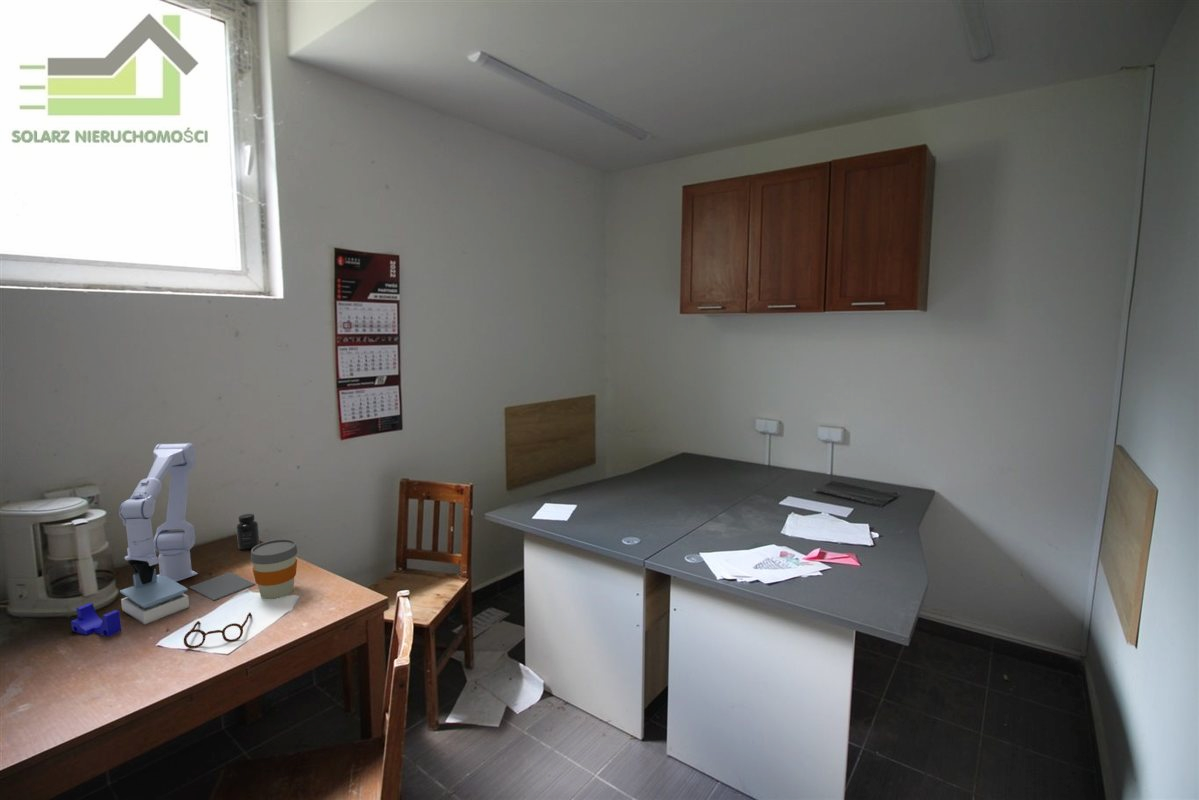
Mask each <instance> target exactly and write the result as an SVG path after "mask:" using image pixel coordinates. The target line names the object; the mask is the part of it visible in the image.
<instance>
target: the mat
mask: <svg viewBox="0 0 1199 800" xmlns="http://www.w3.org/2000/svg"><path fill="white" fill-rule="evenodd" d="M253 586H256V582H253V581H250V580H248V579H246V578H244V577H241V576H239V575H237V574H235V573H232V572H230V571H228V572H226V573H223V574H220V575H218V576H215V577H212V578H210V579H207V580H204V581H201V582H199V583H196V584H194V585H190V586H189V587H188V589H190V590H192V591H194V592H196V593H198V594H200V595H202V596H203V597H205V598H207V599H209V600H211V601H213V602H216V601H218V600H220V599H223V598H225V597H228V596H230V595H232V594H235V593H238V592H241V591H243V590H245V589H247V588H251V587H253Z"/></svg>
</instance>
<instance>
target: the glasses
mask: <svg viewBox="0 0 1199 800" xmlns="http://www.w3.org/2000/svg"><path fill="white" fill-rule="evenodd" d="M251 617H252V613H251V612H248V613H247V615H246V617H245V620H244V621H243V623H242V625H241V624H239V623H235V622H234V623H230V624H227V625H226V626H225V627H223V629H222V630H221V629H216V630H210V631H207V632H205V631H204V630H202V629H199V628H198V629H197V626H200V625H201V622H200V621H199V620H197V621H196V622H194V623H195V624H194V625H193V626H192V628H191V629H190V630H189V631H187V633H186V634H185V635H184V638H183V644H184V646H185V647H186V648H188V649H197V648H200V647H201V646H202V645H203V644H204V643H205V641H206V636H207V635H210V634H211V635H212V634H217V633H220V634H221V635H222V639H223V640H224V641H225V642H227V643H233V642H237V641H238V640H240V639H241V638H242V636H243V633H244V627H245V626H246V624H247V623H248V621H249V618H251ZM230 627H237V628H239V631H240V633H239V636H237V637H236V638H233V639H230V638H227V636H226V630H227V629H228V628H230ZM193 633H198V634H199V633H200V634H201V635H202V641H201V642H200V643H198V644H197V645H190V644H189V643H188V640H187V639H188V638H189V636H190V635H191V634H193Z"/></svg>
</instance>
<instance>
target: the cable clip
mask: <svg viewBox="0 0 1199 800" xmlns="http://www.w3.org/2000/svg"><path fill="white" fill-rule="evenodd" d="M76 615H77V618H76V619H74V620H73V619H72V620H70V622H71V623H70V624H71V629H72V631H71V632H75V633H77V634H78V633H79V634H80V635H81V634H82V635H85V636H89V635H91V634H93V633H94V634H95V633H96V634H99V635H101V636H105V637H108V638H109V637H111V636H113V635H116V634H118V633H119V632H121V631H122V625H121V617H120V611H119V610H117V609H114V610H111V611H110V612H107V613H105V614H103V615H102V619H101V617H99V615H98V614H97V612H96V610H95V607H94V604H93V603H92V602H91V603H90V602H89V603H86V604H84V605H81V606H79V607H77V608H76Z"/></svg>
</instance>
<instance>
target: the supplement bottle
mask: <svg viewBox="0 0 1199 800" xmlns="http://www.w3.org/2000/svg"><path fill="white" fill-rule="evenodd" d="M238 522H239V523H238V524H237V525H236V527H235V528H236V538H237V547H238V549H239V550H241V549H242V550H241V551H247V550H252V548H253V547H255V546H256V545H258V544H261V543H260V534H259V533H260V532H259V523H258V522H257V521H256V520H255V514H254V513H246V514H245V513H244V514H241V515H239V516H238Z"/></svg>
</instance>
